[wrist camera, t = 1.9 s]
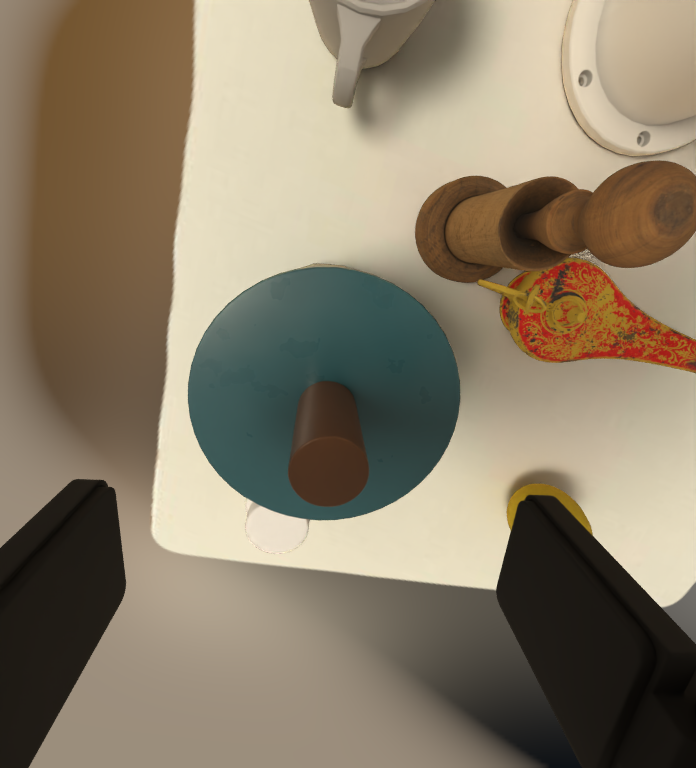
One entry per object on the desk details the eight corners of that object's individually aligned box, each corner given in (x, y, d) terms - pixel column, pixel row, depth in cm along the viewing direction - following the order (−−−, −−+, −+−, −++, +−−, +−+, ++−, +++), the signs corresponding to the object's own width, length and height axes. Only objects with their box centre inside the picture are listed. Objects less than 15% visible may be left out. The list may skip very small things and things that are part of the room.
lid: (190, 253, 15) (109, 258, 9) (473, 277, 16) (558, 295, 10) (200, 500, 19) (146, 615, 13) (431, 508, 20) (476, 618, 14)
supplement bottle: (245, 460, 33) (221, 529, 25) (286, 423, 32) (274, 482, 24) (288, 495, 34) (277, 571, 26) (328, 461, 33) (330, 528, 25)
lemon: (524, 528, 37) (576, 601, 29) (479, 501, 36) (521, 571, 28) (566, 484, 35) (631, 549, 28) (521, 455, 34) (577, 514, 27)
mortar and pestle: (397, 253, 28) (512, 266, 11) (444, 161, 26) (666, 10, 9) (475, 295, 29) (684, 364, 12) (525, 210, 28) (846, 156, 11)
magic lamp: (628, 384, 33) (771, 449, 22) (426, 318, 30) (482, 358, 19) (674, 303, 31) (855, 333, 20) (462, 224, 28) (546, 212, 17)
